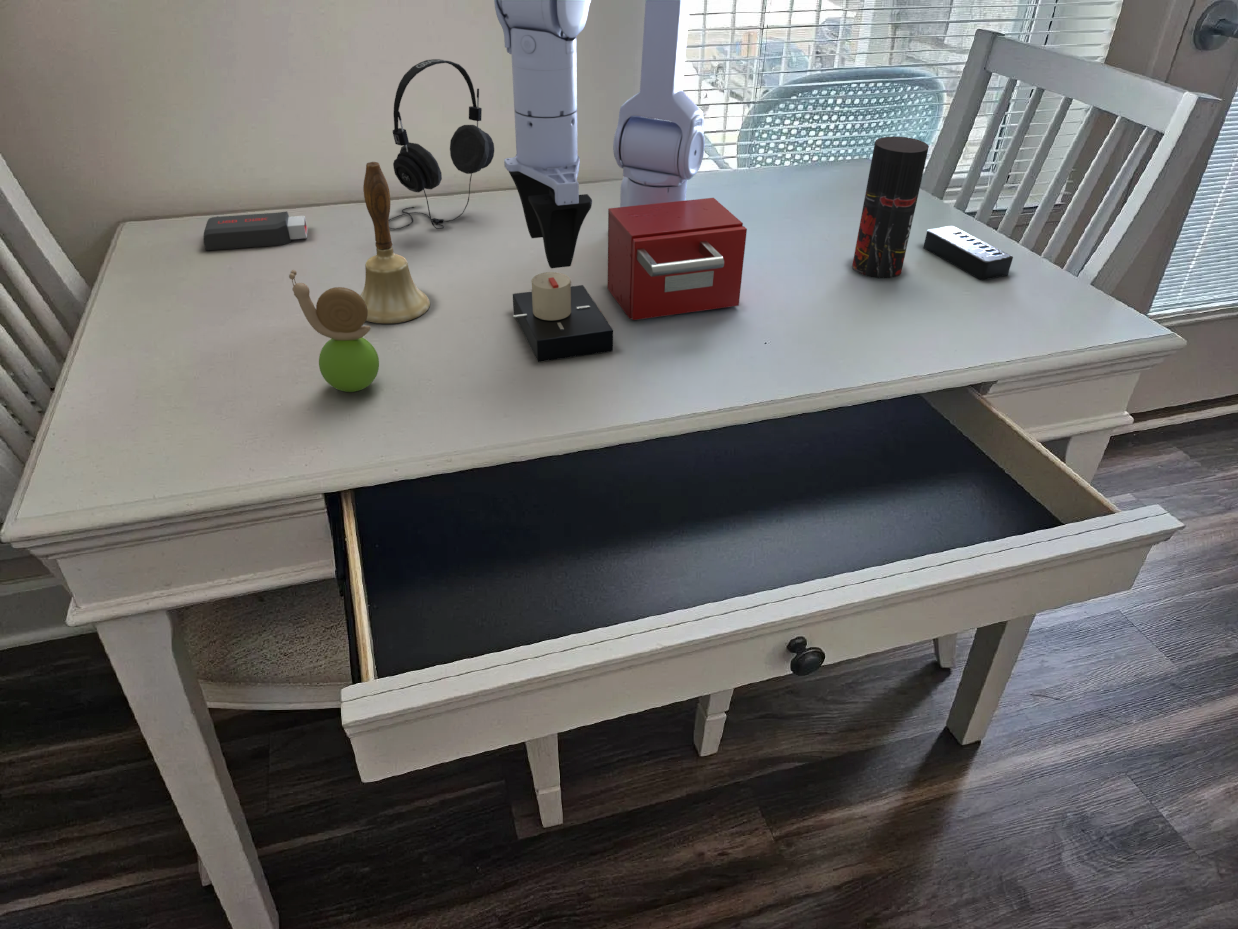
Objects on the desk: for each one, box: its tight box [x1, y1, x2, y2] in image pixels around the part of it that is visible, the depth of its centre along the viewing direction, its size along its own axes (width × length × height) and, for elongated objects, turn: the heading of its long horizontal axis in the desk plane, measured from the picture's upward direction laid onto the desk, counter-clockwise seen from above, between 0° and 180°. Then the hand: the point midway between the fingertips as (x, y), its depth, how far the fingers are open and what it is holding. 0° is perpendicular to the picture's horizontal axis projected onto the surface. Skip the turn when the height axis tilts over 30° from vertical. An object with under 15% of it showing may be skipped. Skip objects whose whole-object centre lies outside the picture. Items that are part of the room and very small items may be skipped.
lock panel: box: [512, 284, 614, 363], centre depth 94 cm, size 11×9×3 cm
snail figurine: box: [288, 269, 380, 393], centre depth 82 cm, size 5×6×12 cm
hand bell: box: [359, 161, 431, 325], centre depth 94 cm, size 8×8×16 cm
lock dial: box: [531, 271, 572, 321], centre depth 92 cm, size 4×4×4 cm
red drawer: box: [631, 225, 748, 321], centre depth 94 cm, size 6×13×9 cm, turn 108°
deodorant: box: [852, 135, 930, 280], centre depth 105 cm, size 6×6×15 cm
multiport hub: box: [922, 225, 1014, 281], centre depth 111 cm, size 4×11×2 cm, turn 24°
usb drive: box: [203, 210, 308, 251], centre depth 113 cm, size 5×12×3 cm, turn 104°
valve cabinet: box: [607, 197, 744, 320], centre depth 99 cm, size 8×13×10 cm, turn 108°
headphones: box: [389, 58, 495, 230], centre depth 114 cm, size 15×11×20 cm
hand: (549, 250), depth 89 cm, fingers open, 7 cm apart
